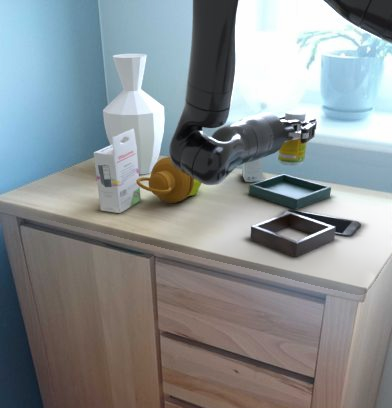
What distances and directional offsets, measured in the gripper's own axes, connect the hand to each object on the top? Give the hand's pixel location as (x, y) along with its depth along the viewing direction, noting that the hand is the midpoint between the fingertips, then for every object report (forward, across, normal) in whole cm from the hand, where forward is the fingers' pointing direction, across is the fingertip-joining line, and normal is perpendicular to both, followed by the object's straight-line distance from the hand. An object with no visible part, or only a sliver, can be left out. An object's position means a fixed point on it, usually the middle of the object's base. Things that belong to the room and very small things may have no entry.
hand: (300, 122), depth 113 cm
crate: (-23, -13, +15) cm, 30 cm away
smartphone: (-13, -13, +15) cm, 24 cm away
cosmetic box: (+3, +13, +15) cm, 20 cm away
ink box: (-28, +25, +15) cm, 41 cm away
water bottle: (-18, +18, +15) cm, 30 cm away
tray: (-2, 0, +14) cm, 15 cm away
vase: (-7, +39, +15) cm, 43 cm away
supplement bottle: (-3, 0, +8) cm, 8 cm away
